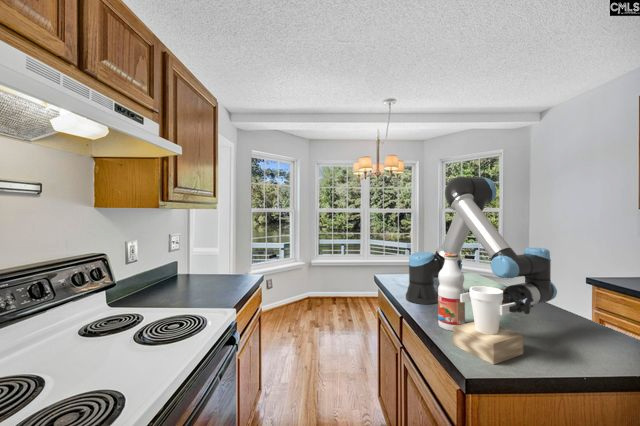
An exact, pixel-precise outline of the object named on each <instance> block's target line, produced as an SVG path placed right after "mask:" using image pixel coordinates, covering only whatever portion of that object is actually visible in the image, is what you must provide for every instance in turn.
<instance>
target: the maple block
mask: <svg viewBox="0 0 640 426" xmlns="http://www.w3.org/2000/svg"><path fill="white" fill-rule="evenodd" d="M452 344H453V346H455V347H457V348H459V349H461V350H463V351H465V352H467V353H469V354H471V355H473V356H475V357H477V358H480V359H481V360H483V361H485V362H487V363H490V364H492V365H496V364H499V363H502V362H505V361H508V360H510V359H513V358H516V357H519V356H522V355H524V334H522V333H520V332H517V331H515V330H511V329H508V328H505V327H503V326H500V325H499V330H498V333H497V334H492V335H491V334H484V333H481V332H478V331H477V330H476V327H475V322H474V321H471V322H470V321H469V322H468V323H467V322H465V324H462V325H458V326H454V327H453V331H452Z"/></svg>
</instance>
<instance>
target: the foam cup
mask: <svg viewBox="0 0 640 426" xmlns="http://www.w3.org/2000/svg"><path fill="white" fill-rule="evenodd" d="M500 289H501V288H497V287H494V286H493V287H492V286H483V285H478V286H470V287H469V289H468V290H469V291H470V297H471V301H470V302H471V303H470V305H471V309H472V314H473V322H475V327H476V330H477V331H478V332H481V333H484V334H491V335H492V334H497V333H498V330H499V326H500V321H501V315H500V305H502V300H503V291H502V290H500Z"/></svg>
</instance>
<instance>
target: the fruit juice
mask: <svg viewBox="0 0 640 426" xmlns="http://www.w3.org/2000/svg"><path fill="white" fill-rule="evenodd" d="M444 258H445V262H444V265H443V268H442V269H441V270H440V272H439V274H438V278H437V279H438V282H439V285H438V288H437V296H438V302H437V317H438V318H437V320H438V321H437V323H438V326H439V327H440V328H441V329H443V330H446V331H452V332H453V327H454V326H458V325H462V324H466V302H463V303H462V302H460V294H463V293H466V292H465V288H464V283H465V275H464V273H463V271H462V269H461V270H460V269H459V266H458V263H457V259H458V254H455V253H445V254H444Z"/></svg>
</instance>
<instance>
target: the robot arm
mask: <svg viewBox="0 0 640 426" xmlns="http://www.w3.org/2000/svg"><path fill="white" fill-rule="evenodd" d="M497 191H498V190H497V187H496V185H495V183H494V181H493V180H491V179H490V178H488V177H482V176H457V177H454V178H453V179H451V180H449V182H448V183H447V185H446V186H445V189H444V196H445V201H446V202H447V205H448V206H449V207H450V208H451V210H453V211H455V213H454V216H453V219H452V220H451V224H450V225H449V228H448V230H447V232H446V235H445V237H444V240H443V242H442V245H441V246H438V247H437V249H436V251H435V253H433V252H431V251H418V252H413V253H412V254H410V255H409V259H408V277H409V278H408V279H409V280H408V287H407V291H406V293H405V300H406V301H408V302H409V303H414V304H416V305H417V304H419V305H433V304H438V294H437V291H436V288H435V284H434V283H435V281H434V279H436V278H437V279H438V274H439V272H440V270H441V269H442V268H443V265H444V262H445V258H444V254H445V253H455V254H458V259H457V263H458V266H459V269H460V270H461V271H462V269H463V264H462V261H463V260H462V255H461V254H460V252H461V251H462V248H463V246H464V243H465V241H466V239H467V237H468V235H469V233H470V232H471V233H472V235H473V236H474V237H475V238H476V240H477V242H478V243H479V244H480V245H481V247H482V248H483V249H484V251H485V252H486V254H487V255H488V256H489V258H490V259H491V261H490V267H491V271H492V273H493V275H495V276H496V277H497V278H499V279H500V278H501V279H514V278H519V277H524V282H522V283H517V284H512V285H508V286H506V287H505V288H504V289H505V290H502V291H503V300H502V302H503V303H508V304H504V305H500V316H505V315H510V314H513V313H522V312H523V313H524V314H525V315H529V314H530V312H531V309H532V308H534V305H537V304H542V303H548V302H549V301H552V300H554V299H555V298H556V297H557V294H558V290H557V287H556V285H555V284H554V283H553V282H552V281H551V279H552V278H551V277H552V275H551V267H552V266H551V265H552V263H551V262H552V259H551V254H550V250H549V249H547V248H543V247H526V248H524V250H523V251H524V252H523V254H517V253H516V252H515V251H514V249H513V248H512V247H511V246H510V245H509V243H508V242H507V241H506V239H505V237H503V235H502V234H501V233H500V231H498V230H497V228H496V227H495V226H494V224H493V223H492V222H491V221H490V219H489V218H488V217H487V215H486V214H485V213H484V212H483V211H484V208H485V206H486V204H487V205H488V204H490V203H492V202H493V201H494V200H495V199H496V197H497ZM460 302H462V303H463V302H465V303H467V302H471V297H470V291H469V289H467V292H465V293H463V294H460Z"/></svg>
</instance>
